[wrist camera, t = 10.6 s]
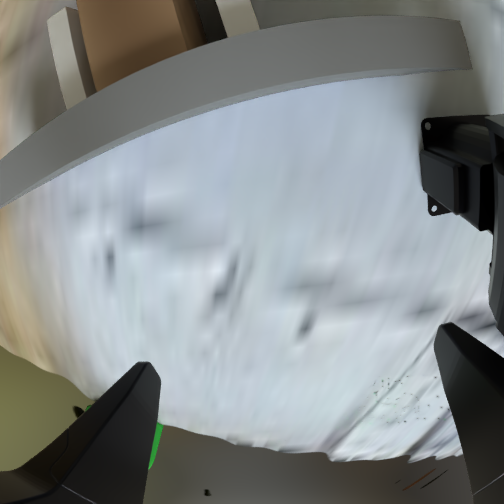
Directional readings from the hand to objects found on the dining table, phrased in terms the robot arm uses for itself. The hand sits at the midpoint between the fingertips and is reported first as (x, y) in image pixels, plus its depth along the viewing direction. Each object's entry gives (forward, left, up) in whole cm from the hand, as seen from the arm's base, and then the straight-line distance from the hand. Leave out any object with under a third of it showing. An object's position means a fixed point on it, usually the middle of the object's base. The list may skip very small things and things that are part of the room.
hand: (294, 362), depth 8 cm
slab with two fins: (+3, -11, -11) cm, 16 cm away
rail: (+3, -17, -11) cm, 21 cm away
